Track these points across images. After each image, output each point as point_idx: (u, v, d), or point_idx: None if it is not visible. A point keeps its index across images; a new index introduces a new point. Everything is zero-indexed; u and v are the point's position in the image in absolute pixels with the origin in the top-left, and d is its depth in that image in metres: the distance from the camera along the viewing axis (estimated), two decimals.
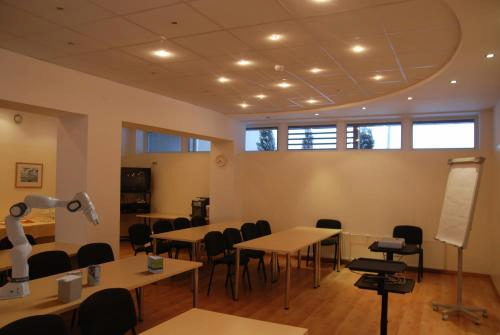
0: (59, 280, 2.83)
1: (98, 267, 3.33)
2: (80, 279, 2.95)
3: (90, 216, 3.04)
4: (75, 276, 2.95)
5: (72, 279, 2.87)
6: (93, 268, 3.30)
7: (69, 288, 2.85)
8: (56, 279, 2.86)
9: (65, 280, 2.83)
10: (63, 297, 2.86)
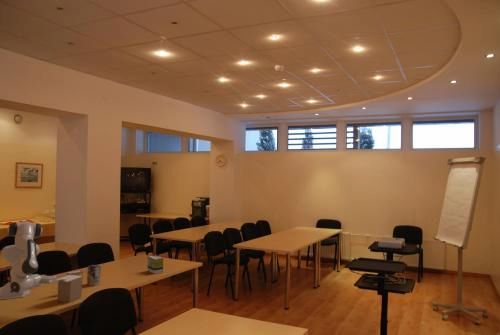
0: (59, 280, 2.83)
1: (98, 267, 3.33)
2: (80, 279, 2.95)
3: None
4: (75, 276, 2.95)
5: (72, 279, 2.87)
6: (93, 268, 3.30)
7: (69, 288, 2.85)
8: (56, 279, 2.86)
9: (65, 280, 2.83)
10: (63, 297, 2.86)
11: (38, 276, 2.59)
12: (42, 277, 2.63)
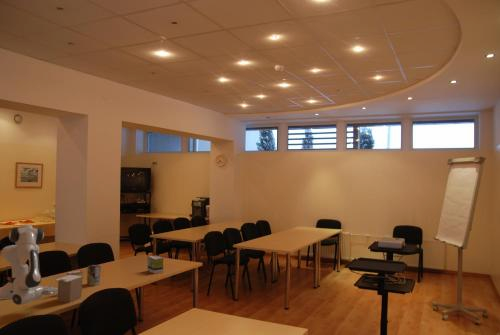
0: (59, 280, 2.83)
1: (98, 267, 3.33)
2: (80, 279, 2.95)
3: None
4: (75, 276, 2.95)
5: (72, 279, 2.87)
6: (93, 268, 3.30)
7: (69, 288, 2.85)
8: (56, 279, 2.86)
9: (65, 280, 2.83)
10: (63, 297, 2.86)
11: (40, 288, 2.61)
12: (44, 288, 2.66)
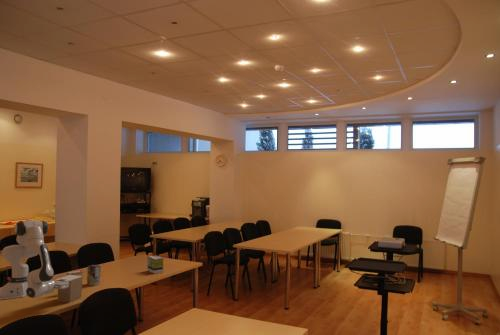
0: (59, 280, 2.83)
1: (98, 267, 3.33)
2: (80, 279, 2.95)
3: None
4: (75, 276, 2.95)
5: (72, 279, 2.87)
6: (93, 268, 3.30)
7: (69, 288, 2.85)
8: (56, 279, 2.86)
9: (65, 280, 2.83)
10: (63, 297, 2.86)
11: (52, 282, 2.71)
12: (55, 282, 2.76)
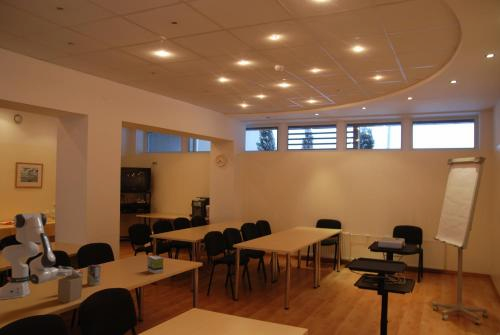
0: (63, 266, 2.87)
1: (98, 267, 3.33)
2: (80, 279, 2.95)
3: None
4: None
5: (74, 270, 2.89)
6: (93, 268, 3.30)
7: (69, 288, 2.85)
8: None
9: None
10: (63, 297, 2.86)
11: (55, 269, 2.74)
12: (59, 270, 2.79)
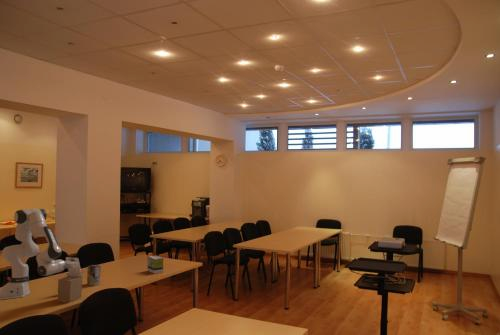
0: None
1: (98, 267, 3.33)
2: (80, 279, 2.95)
3: None
4: None
5: (79, 264, 2.94)
6: (93, 268, 3.30)
7: (69, 288, 2.85)
8: None
9: None
10: (63, 297, 2.86)
11: (62, 261, 2.80)
12: (65, 262, 2.85)
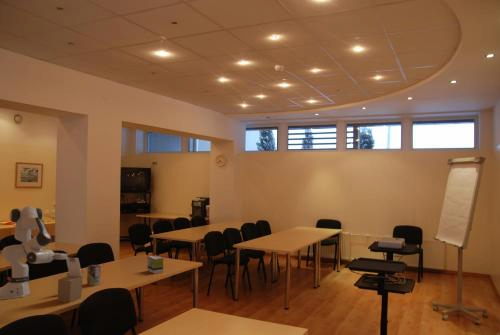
0: None
1: (98, 267, 3.33)
2: (80, 279, 2.95)
3: None
4: None
5: (79, 264, 2.94)
6: (93, 268, 3.30)
7: (69, 288, 2.85)
8: (67, 258, 2.96)
9: None
10: (63, 297, 2.86)
11: (51, 251, 2.71)
12: (54, 253, 2.75)
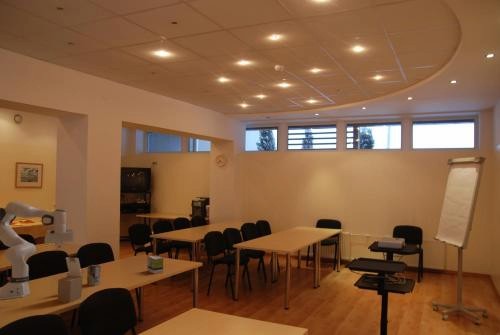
0: None
1: (98, 267, 3.33)
2: (80, 279, 2.95)
3: (45, 238, 2.93)
4: None
5: (79, 264, 2.94)
6: (93, 268, 3.30)
7: (69, 288, 2.85)
8: None
9: None
10: (63, 297, 2.86)
11: None
12: None
